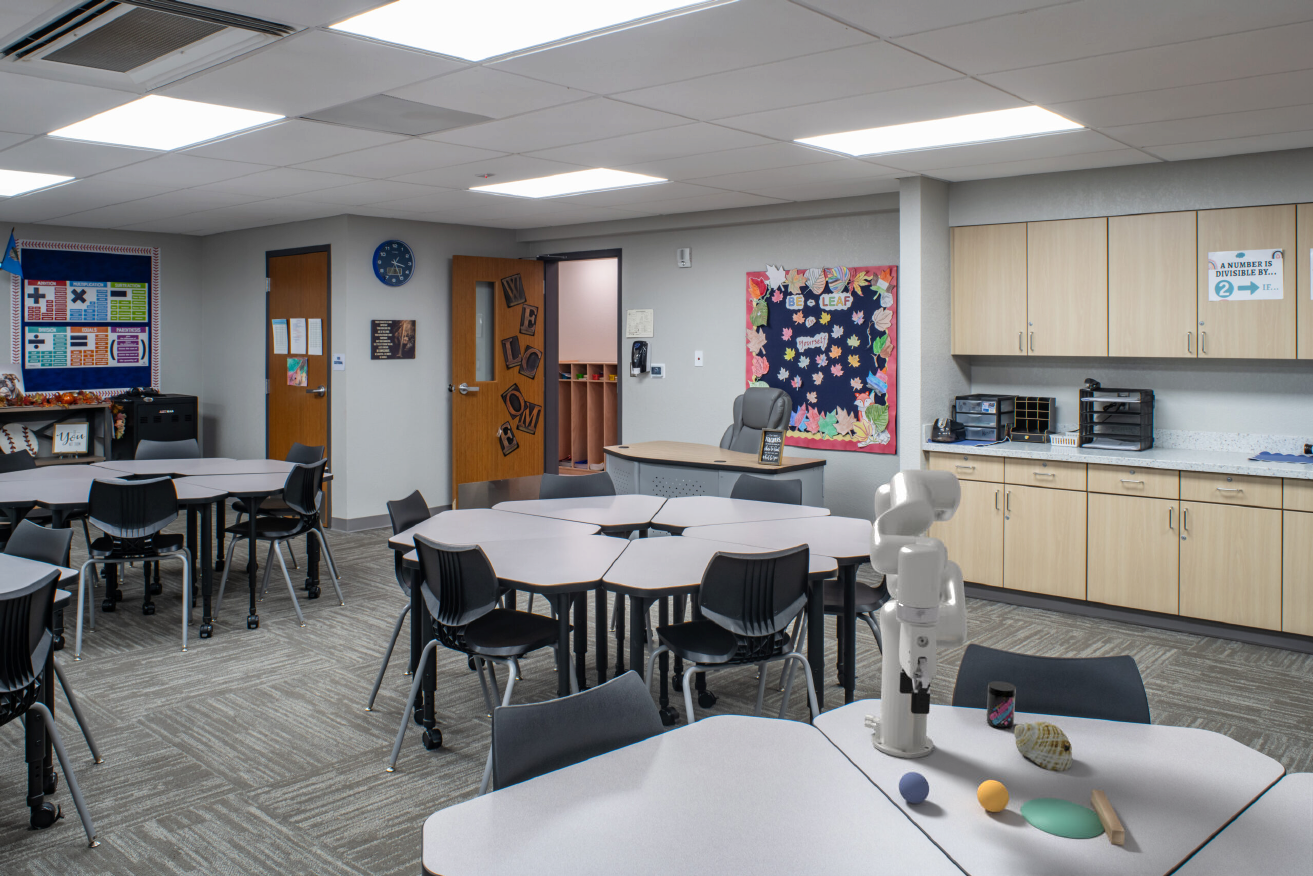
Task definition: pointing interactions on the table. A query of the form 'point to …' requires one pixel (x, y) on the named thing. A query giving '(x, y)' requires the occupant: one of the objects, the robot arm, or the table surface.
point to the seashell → (1044, 745)
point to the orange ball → (993, 796)
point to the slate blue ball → (914, 787)
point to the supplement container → (1001, 704)
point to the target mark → (1062, 818)
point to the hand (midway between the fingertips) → (913, 703)
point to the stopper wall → (1108, 817)
